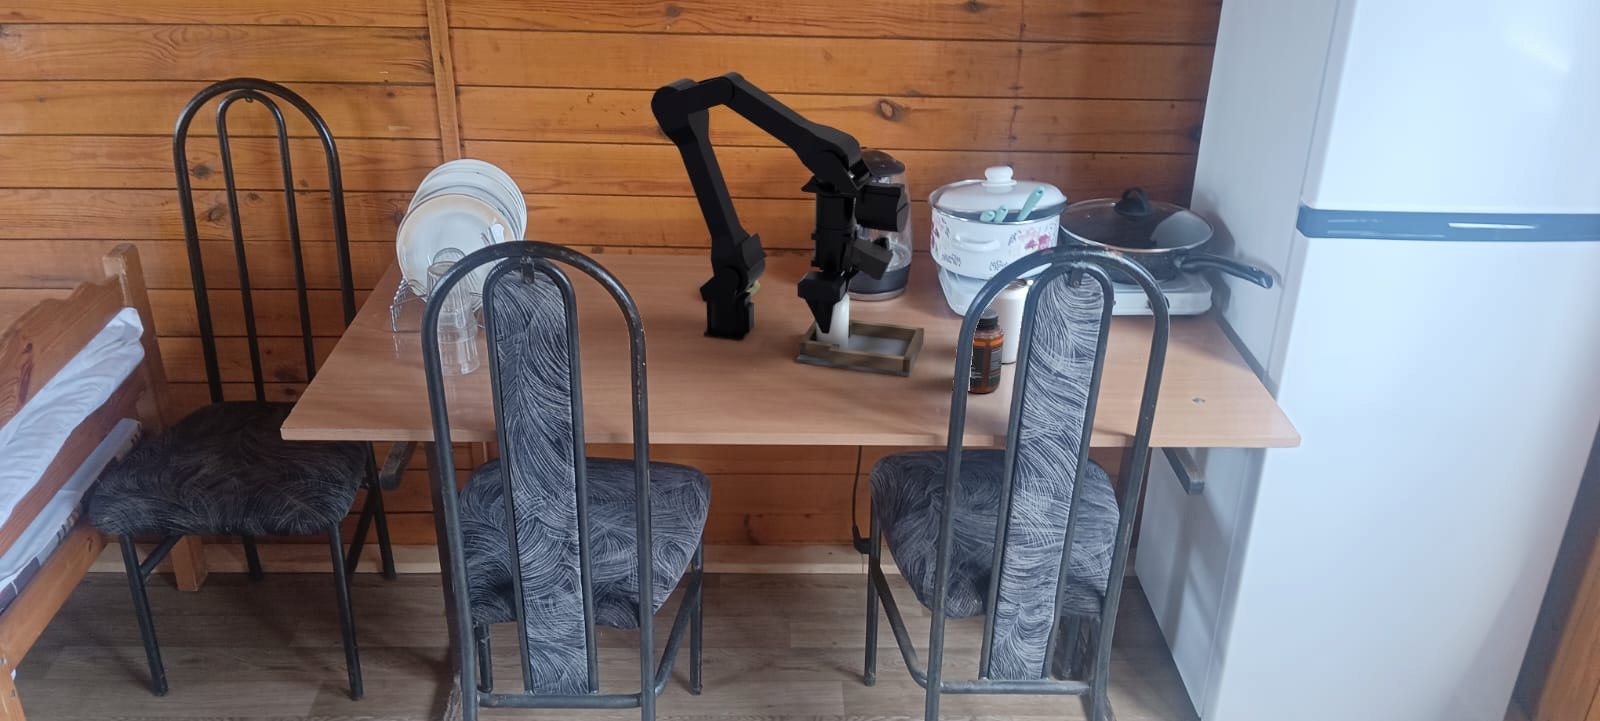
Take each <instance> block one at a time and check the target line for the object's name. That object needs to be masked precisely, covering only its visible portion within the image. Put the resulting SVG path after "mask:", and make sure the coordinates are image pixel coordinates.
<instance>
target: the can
mask: <svg viewBox="0 0 1600 721" xmlns="http://www.w3.org/2000/svg"><path fill="white" fill-rule="evenodd" d="M994 276H995V275H992V276H991V277H989V278H988V281H989V280H990V279H991V278H992V277H994ZM1022 278H1023V277H1022ZM1028 290H1029V288H1028V281H1027V279H1025V278H1023V279H1021V280H1019V281H1017V282H1015V283H1013V284H1012V285H1010V286H1008V287H1007V288H1005V289H1004V290H1002V291H1001V292H1000V293H999V294H998V295H997V296H996V297H995V298H994V300H993V301H992V302H991V303H990V305H989V306H988V307H987V308H991V309H994V310H996V311H997V312H998V322H997V324H998V325H1000V326H1001V327H1002V329H1003V331H1004V338H1003V339H1004V340H1003V352H1002V363H1007V364H1006V365H1009V363H1011V364H1014V362H1015V359H1016V353H1017V348H1018V341H1019V334H1020V328H1021V321H1022V312H1023V306H1024V301H1025V297H1026V294H1027V292H1028ZM1012 362H1013V363H1012ZM1015 363H1016V362H1015Z"/></svg>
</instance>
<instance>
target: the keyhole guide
mask: <svg viewBox="0 0 1600 721" xmlns="http://www.w3.org/2000/svg"><path fill="white" fill-rule="evenodd" d="M816 333H817V322H816V320H815V319H814V321H813V322H812V323H811V325H809V328H808V329H807V330H806V332H805V334H804V336H803V337H802V338H801V339H800V341H799V354H798V356H797V358H796V363H798V364H800V363H801V364H807V365H814V366H821V367H822V366H823V367H830V368H839V369H847V370H855V371H861V372H870V373H877V374H878V373H879V374H886V375H894V376H901V377H910V376H911V373H912V370H913V369H914V366H915V364H916V361H917V359H918V356H919V355H920V351H921V349H922V347H923V345H924V336H925V335H924V334H925V328H924V327H920V326H912V325H911V326H908V325H903V324H902V325H901V324H892V323H886V322H885V323H884V322H883V323H882V322H876V321H868V320H858V319H850V318H849V329H848V348H847V349H839V344H833V343H825V342H816Z"/></svg>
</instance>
